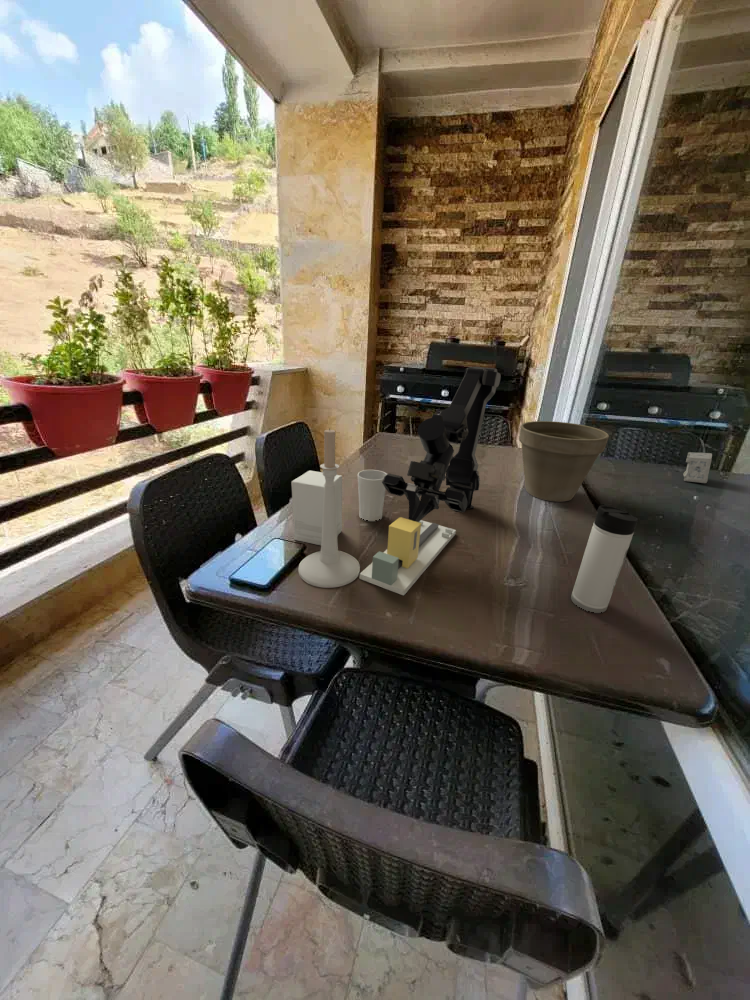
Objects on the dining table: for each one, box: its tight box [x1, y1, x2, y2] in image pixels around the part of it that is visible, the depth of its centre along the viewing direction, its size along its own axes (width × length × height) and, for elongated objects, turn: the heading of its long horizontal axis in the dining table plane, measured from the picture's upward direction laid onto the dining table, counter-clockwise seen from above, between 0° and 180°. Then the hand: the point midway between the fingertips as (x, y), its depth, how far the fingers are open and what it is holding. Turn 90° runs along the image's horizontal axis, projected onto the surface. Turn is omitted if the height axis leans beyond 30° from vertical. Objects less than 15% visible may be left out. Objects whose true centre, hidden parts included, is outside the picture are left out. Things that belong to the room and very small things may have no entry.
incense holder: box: [682, 451, 713, 484], centre depth 147 cm, size 10×8×10 cm
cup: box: [357, 469, 388, 522], centre depth 104 cm, size 8×8×12 cm
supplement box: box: [290, 470, 343, 546], centre depth 92 cm, size 9×9×15 cm
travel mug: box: [570, 505, 639, 614], centre depth 71 cm, size 6×7×20 cm
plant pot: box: [518, 420, 610, 503], centre depth 124 cm, size 25×25×22 cm
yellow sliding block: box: [386, 516, 421, 569], centre depth 82 cm, size 5×5×8 cm
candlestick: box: [297, 427, 361, 589], centre depth 76 cm, size 13×13×30 cm
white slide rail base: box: [359, 519, 457, 596], centre depth 88 cm, size 30×10×6 cm, turn 150°
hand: (410, 526), depth 83 cm, fingers closed, pressing on yellow sliding block
